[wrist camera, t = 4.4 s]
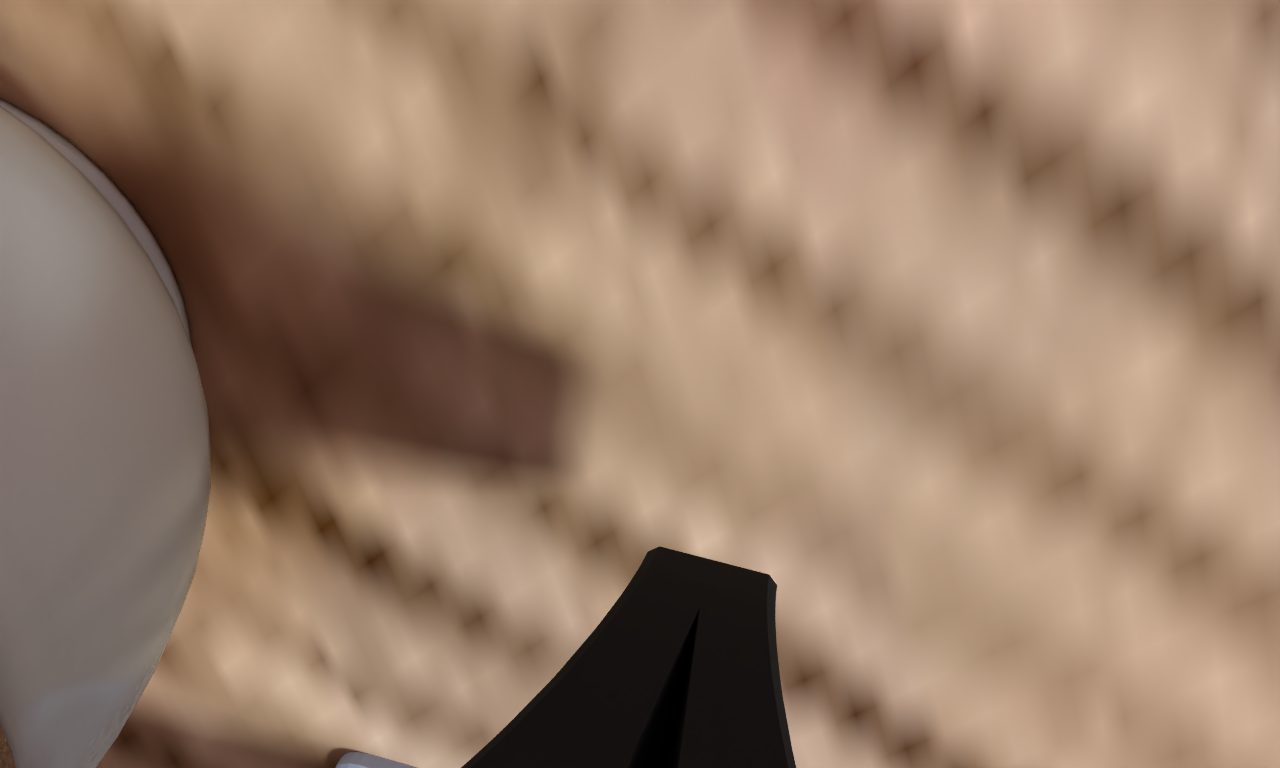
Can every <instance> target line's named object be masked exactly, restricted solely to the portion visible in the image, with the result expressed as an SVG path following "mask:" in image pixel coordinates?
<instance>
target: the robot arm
mask: <svg viewBox="0 0 1280 768" xmlns="http://www.w3.org/2000/svg"><path fill="white" fill-rule="evenodd" d="M776 590H777V585H776V583H775V582H774V581H773V579H772V578H771V577H770V575H768V574H764V573H760V572H757V571H753V570H749V569H745V568H741V567H737V566H733V565H729V564H726V563H722V562H718V561H714V560H710V559H706V558H702V557H698V556H695V555H691V554H687V553H683V552H679V551H675V550H671V549H667V548H664V547H657V548H655V549H653V550H651V551H648V553H647V555H646V556H645V558H644V560H643V562H642V564H641V566H640V567H639V569H638V571H637V572H636V574H635V575H634V577H633V578H632V580H631V581H630V583H629V585H628V586H627V587H626V589H625V590H624V592H623V593H622V595H621V596H620V597H619V599H618V600H617V602H616V603H615V604H614V606H613V607H612V608H611V609H610V611H609V612H608V613H607V615H606V616H605V617H604V619H603V620H602V621H601V623H600V624H599V625H598V626H597V628H596V629H595V630H594V631H593V632H592V634H591V635H590V636H589V637H588V638H587V640H586V641H585V642H584V643H583V644H582V645H581V647H580V648H579V649H578V650H577V651H576V652H575V654H574V655H573V656H572V657H571V658H570V659H569V661H568V662H567V663H566V664H565V665H564V667H563V668H562V669H561V670H560V671H559V672H558V673H557V674H556V676H555V677H554V678H553V679H552V680H551V681H550V682H549V683H548V684H547V685H546V686H545V687H544V688H543V689H542V690H541V691H540V692H539V693H538V694H537V695H536V696H535V697H534V698H533V699H532V701H531V702H530V703H529V704H528V705H527V706H526V707H525V708H524V709H523V710H522V711H521V712H520V713H519V714H518V715H517V716H516V717H515V718H514V719H513V720H512V721H511V722H510V723H509V724H508V725H507V726H506V727H505V728H504V729H503V730H502V731H501V732H500V733H499V734H498V735H497V736H496V737H494V738H493V739H492V740H491V741H490V742H489V743H488V744H487V745H486V746H485V747H484V748H483V749H482V750H480V751H479V752H478V753H477V754H476V755H475V756H474V757H473V758H472V759H471V760H469V761H468V762H467V763H466V764H465V765H464V766H462V767H461V768H796V765H795V761H794V756H793V752H792V747H791V741H790V735H789V730H788V724H787V719H786V713H785V708H784V702H783V696H782V689H781V682H780V674H779V665H778V655H777V644H776V627H775V601H776ZM335 768H416V767H412V766H409V765H405V764H402V763H398V762H395V761H391V760H388V759H384V758H381V757H377V756H374V755H370V754H367V753H361V752H350V753H346V754H345V755H343V756H342V757H341V758H340V760H339V762H338V764H337V765H336V767H335Z"/></svg>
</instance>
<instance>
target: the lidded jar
mask: <svg viewBox="0 0 1280 768" xmlns="http://www.w3.org/2000/svg"><path fill="white" fill-rule="evenodd" d="M210 488H211V476H210V440H209V425H208V410H207V405H206V401H205V397H204V392H203V388H202V384H201V380H200V376H199V371H198V367H197V363H196V360H195V356H194V353H193V350H192V346H191V336H190V327H189V323H188V318H187V314H186V310H185V306H184V301H183V298H182V295H181V292H180V290H179V287H178V285H177V282H176V280H175V277H174V275H173V272H172V269H171V267H170V265H169V263H168V261H167V259H166V257H165V256H164V254H163V252H162V250H161V248H160V246H159V245H158V243H157V241H156V239H155V237H154V235H153V234H152V232H151V231H150V229H149V228H148V227H147V225H146V224H145V222H144V221H143V220H142V218H141V217H140V215H139V214H138V212H137V211H136V210H135V208H134V207H133V205H132V204H131V202H130V201H129V200H128V199H127V198H126V197H125V196H124V195H123V193H122V192H121V191H120V190H119V189H118V188H117V187H116V186H115V184H114V183H113V182H112V181H111V180H110V179H109V178H108V176H107V175H106V174H105V173H104V172H103V171H102V170H101V169H100V168H99V167H97V166H96V165H95V164H94V163H93V162H92V161H91V160H90V159H89V158H88V157H86V156H85V155H84V154H83V153H82V152H81V151H80V150H79V149H78V148H77V147H75V146H74V145H73V144H72V143H70V142H69V141H68V140H66V139H65V138H63V137H62V136H61V135H59V134H58V133H57V132H55V131H54V130H53V129H51V128H50V127H48V126H47V125H46V124H44V123H43V122H42V121H40V120H38V119H36V118H34V117H33V116H31V115H29V114H27V113H26V112H24V111H22V110H20V109H19V108H17V107H15V106H13V105H12V104H10V103H8V102H6V101H3V100H1V99H0V768H96V767H97V766H98V764H99V763H100V761H101V760H102V758H103V757H104V756H105V754H106V753H107V751H108V750H109V748H110V747H111V746H112V744H113V743H114V741H115V740H116V738H117V737H118V735H119V733H120V732H121V730H122V728H123V726H124V725H125V723H126V721H127V719H128V718H129V716H130V714H131V712H132V711H133V709H134V707H135V705H136V704H137V702H138V700H139V698H140V696H141V695H142V693H143V691H144V689H145V688H146V686H147V684H148V682H149V681H150V679H151V677H152V675H153V674H154V672H155V670H156V668H157V665H158V663H159V661H160V658H161V656H162V654H163V651H164V649H165V647H166V644H167V642H168V640H169V637H170V635H171V633H172V630H173V628H174V626H175V623H176V621H177V619H178V616H179V614H180V612H181V609H182V607H183V604H184V601H185V599H186V596H187V594H188V591H189V588H190V586H191V583H192V581H193V578H194V575H195V571H196V567H197V562H198V558H199V553H200V549H201V544H202V540H203V535H204V530H205V525H206V518H207V510H208V503H209V495H210Z"/></svg>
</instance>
